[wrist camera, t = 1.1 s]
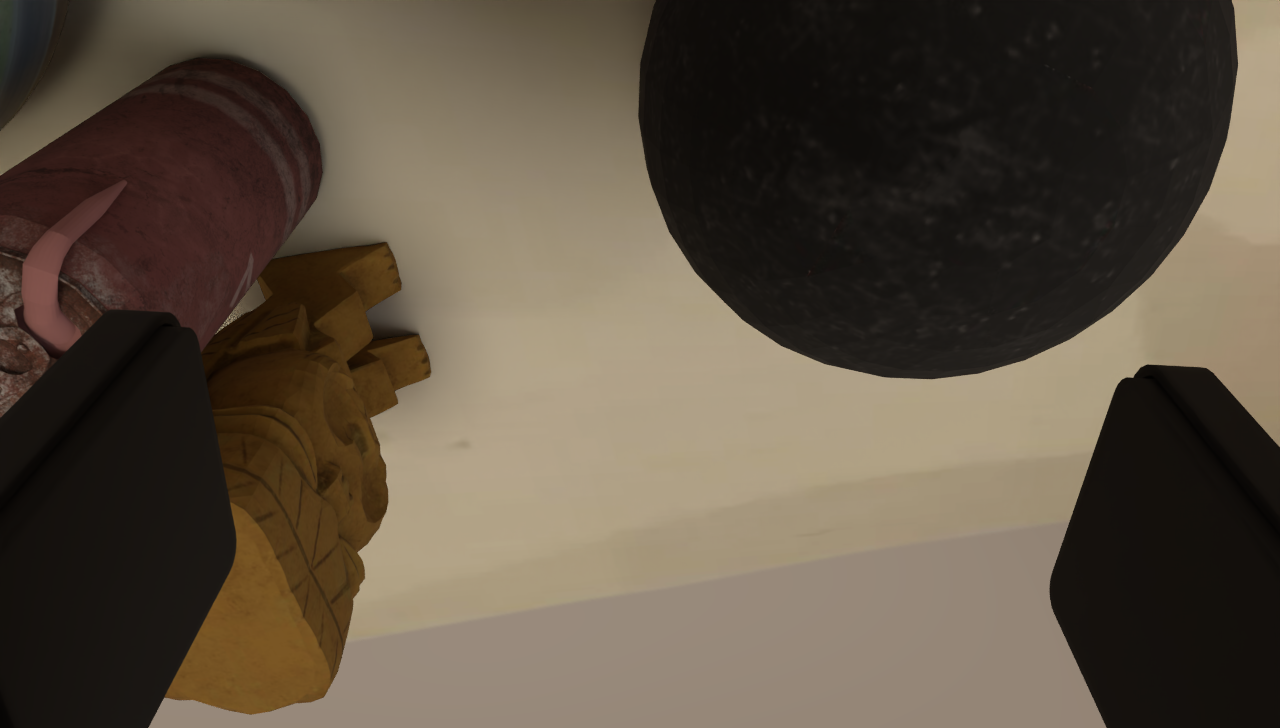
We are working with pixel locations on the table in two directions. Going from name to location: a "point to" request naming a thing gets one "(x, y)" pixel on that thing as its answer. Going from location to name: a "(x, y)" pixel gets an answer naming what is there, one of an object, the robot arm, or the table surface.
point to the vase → (26, 48)
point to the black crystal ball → (932, 164)
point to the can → (151, 211)
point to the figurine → (298, 475)
